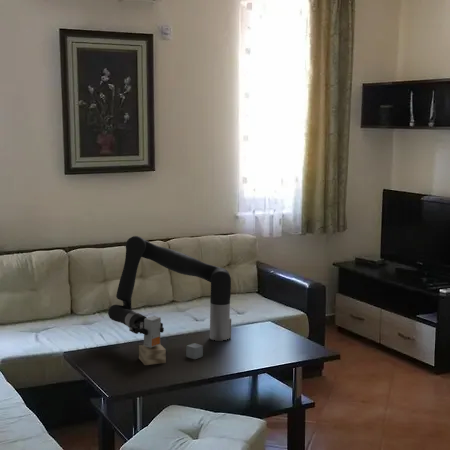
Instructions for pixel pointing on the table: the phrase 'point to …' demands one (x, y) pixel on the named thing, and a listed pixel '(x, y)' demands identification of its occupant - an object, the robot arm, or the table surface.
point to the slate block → (194, 351)
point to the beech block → (152, 354)
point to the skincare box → (152, 331)
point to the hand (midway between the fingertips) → (154, 331)
